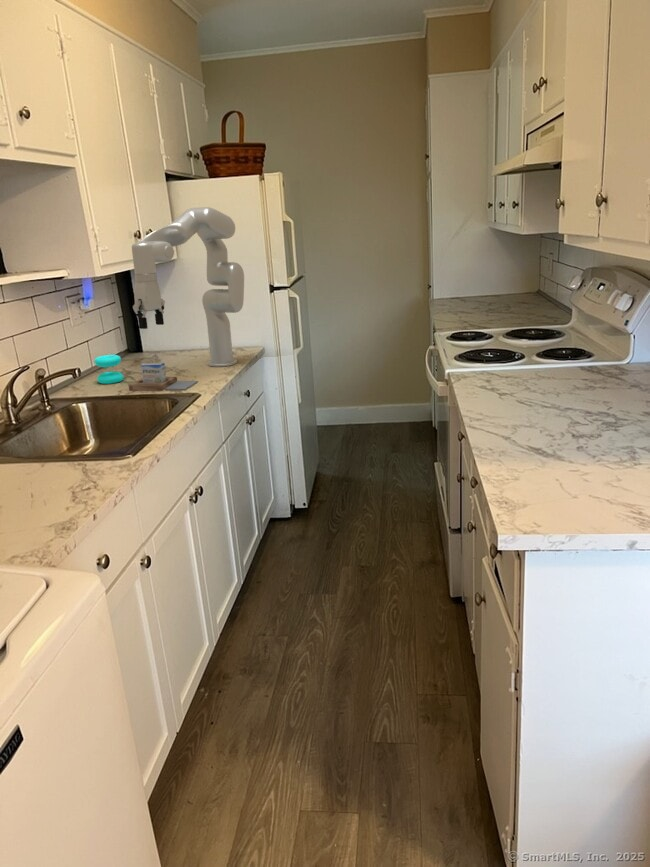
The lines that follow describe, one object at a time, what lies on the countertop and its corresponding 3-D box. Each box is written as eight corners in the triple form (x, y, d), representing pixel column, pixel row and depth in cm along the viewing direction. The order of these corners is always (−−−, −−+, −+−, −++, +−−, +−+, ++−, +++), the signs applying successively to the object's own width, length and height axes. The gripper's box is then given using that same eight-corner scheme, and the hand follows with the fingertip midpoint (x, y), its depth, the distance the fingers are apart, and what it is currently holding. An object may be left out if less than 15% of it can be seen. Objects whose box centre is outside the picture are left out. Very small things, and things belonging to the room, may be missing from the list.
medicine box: (143, 387, 246) (140, 365, 243) (147, 384, 250) (144, 362, 247) (163, 387, 245) (160, 364, 242) (167, 384, 249) (164, 362, 247)
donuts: (98, 360, 248) (90, 356, 256) (102, 386, 251) (94, 381, 259) (123, 356, 253) (115, 353, 261) (127, 381, 257) (119, 377, 264)
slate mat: (178, 382, 251) (178, 380, 251) (197, 382, 250) (197, 380, 250) (165, 390, 240) (165, 388, 240) (185, 390, 239) (185, 388, 238)
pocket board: (146, 381, 255) (145, 376, 255) (177, 381, 253) (176, 376, 252) (129, 390, 242) (128, 385, 242) (161, 390, 240) (160, 385, 239)
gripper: (152, 276, 241) (157, 322, 246) (121, 280, 226) (128, 330, 231) (169, 276, 238) (174, 323, 244) (139, 280, 223) (145, 330, 228)
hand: (151, 326), depth 237 cm, fingers open, 9 cm apart
